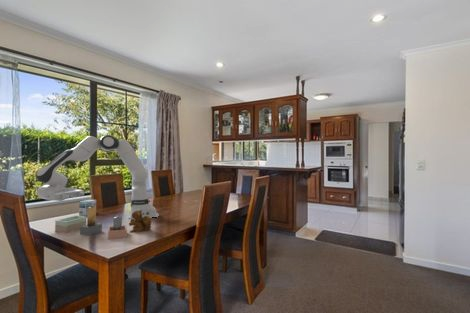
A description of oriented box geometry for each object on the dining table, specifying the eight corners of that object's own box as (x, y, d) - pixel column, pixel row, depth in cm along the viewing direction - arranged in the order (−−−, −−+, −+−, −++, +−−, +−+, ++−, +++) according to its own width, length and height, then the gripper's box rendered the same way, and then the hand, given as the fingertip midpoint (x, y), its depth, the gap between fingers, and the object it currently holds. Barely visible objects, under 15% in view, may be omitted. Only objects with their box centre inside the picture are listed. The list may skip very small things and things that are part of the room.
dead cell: (121, 234, 146) (121, 214, 147) (121, 236, 143) (122, 216, 143) (112, 235, 144) (113, 215, 145) (112, 237, 141) (113, 217, 141)
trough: (75, 225, 164) (75, 215, 164) (86, 226, 161) (86, 216, 161) (55, 231, 150) (55, 220, 150) (66, 232, 148) (66, 221, 148)
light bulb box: (85, 215, 189) (86, 202, 189) (78, 215, 190) (78, 201, 190) (96, 212, 199) (96, 199, 200) (89, 212, 201) (89, 199, 201)
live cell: (95, 223, 151) (96, 205, 151) (95, 225, 147) (96, 206, 147) (87, 224, 149) (88, 205, 149) (86, 226, 145) (87, 207, 145)
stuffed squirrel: (132, 228, 160) (133, 208, 160) (154, 229, 161) (154, 209, 161) (126, 233, 150) (127, 212, 150) (149, 233, 151) (150, 212, 151)
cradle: (92, 230, 153) (93, 222, 153) (101, 232, 151) (102, 223, 151) (80, 234, 144) (80, 225, 144) (89, 236, 142) (89, 227, 143)
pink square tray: (125, 233, 150) (125, 225, 150) (126, 238, 141) (126, 229, 141) (108, 235, 146) (108, 226, 146) (107, 240, 137) (108, 231, 137)
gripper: (43, 190, 145) (60, 192, 141) (74, 187, 165) (90, 188, 161) (42, 201, 145) (60, 203, 141) (73, 196, 165) (90, 198, 161)
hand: (76, 195), depth 151 cm, fingers open, 8 cm apart
